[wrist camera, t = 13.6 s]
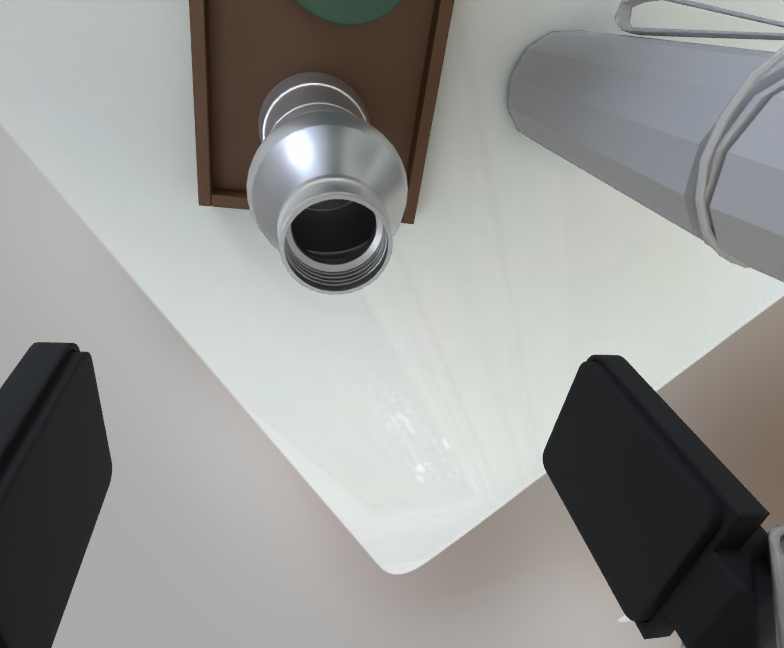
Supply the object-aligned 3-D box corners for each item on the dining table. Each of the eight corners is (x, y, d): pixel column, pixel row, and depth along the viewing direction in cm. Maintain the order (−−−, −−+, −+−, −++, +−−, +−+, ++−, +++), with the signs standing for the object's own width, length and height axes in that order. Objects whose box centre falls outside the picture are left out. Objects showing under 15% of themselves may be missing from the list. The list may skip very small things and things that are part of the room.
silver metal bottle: (252, 69, 31) (207, 152, 14) (363, 64, 32) (440, 138, 15) (268, 174, 34) (247, 340, 18) (367, 168, 35) (435, 320, 19)
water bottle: (579, 153, 38) (929, 341, 17) (483, 130, 36) (749, 312, 15) (638, 12, 33) (1212, 35, 13) (532, -24, 31) (1008, -67, 10)
